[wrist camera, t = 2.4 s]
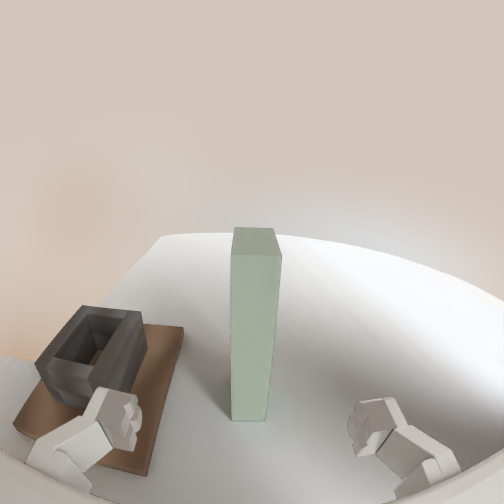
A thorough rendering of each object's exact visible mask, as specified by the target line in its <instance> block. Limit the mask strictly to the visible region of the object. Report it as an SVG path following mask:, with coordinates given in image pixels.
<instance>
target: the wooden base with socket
mask: <svg viewBox="0 0 504 504" xmlns="http://www.w3.org/2000/svg"><path fill="white" fill-rule="evenodd" d="M183 336H184V330H183V327H175V326H162V325H150V324H143V320H142V315H141V312H140V311H129V310H119V309H109V308H100V307H92V306H84V305H82V306H81V307H80V309H79V310H78V311H77V312H76V313H75V314H74V315H73V317H72V318H71V319H70V320H69V321H68V322H67V323H66V325H65V326H64V327H63V328H62V329H61V331H60V332H59V333H58V334H57V336H56V337H55V338H54V339H53V340H52V342H51V343H50V344H49V345H48V347H47V348H46V349H45V350H44V352H43V353H42V354H41V356H40V357H39V358H38V359H37V361H36V362H35V363H34V364H35V366H36V368H37V370H38V372H39V374H40V376H41V378H42V379H41V380H40V382H39V383H38V385H37V386H36V388H35V389H34V391H33V392H32V394H31V395H30V397H29V398H28V400H27V401H26V403H25V404H24V406H23V408H22V409H21V411H20V412H19V414H18V416H17V417H16V419H15V421H14V422H13V425H14V426H15V428H16V429H17V430H18V431H19V432H21V433H23V434H25V435H27V436H29V437H31V438H33V439H35V440H37V439H39V438H40V437H42V436H44V435H46V434H48V433H49V432H51V431H53V430H55V429H57V428H58V427H60V426H62V425H64V424H65V423H67V422H69V421H71V420H72V419H74V418H76V417H77V416H83V414H84V412H85V410H86V408H87V406H88V404H89V402H90V400H91V398H92V396H93V394H94V392H95V390H96V389H97V388H98V387H99V386H100V387H104V388H108V389H112V390H116V391H120V392H124V393H129V394H133V395H136V396H137V399H138V403H137V405H138V406H139V407H140V408H141V411H142V424H141V428H140V430H139V431H137V432H136V433H135V435H136V437H137V441H136V444H135V448H134V451H133V452H131V451H127V450H122V449H118V448H114V447H113V449H112V450H111V451H109V452H108V453H107V454H106V455H105V456H103V457H102V458H101V459H100V460H99V461H97V462H96V463H97V464H100V465H103V466H107V467H110V468H114V469H118V470H121V471H125V472H129V473H134V474H138V475H143V476H147V472H148V467H149V463H150V459H151V455H152V451H153V446H154V442H155V438H156V434H157V430H158V426H159V423H160V419H161V415H162V411H163V407H164V403H165V400H166V396H167V392H168V389H169V385H170V381H171V378H172V374H173V371H174V367H175V364H176V360H177V357H178V353H179V350H180V347H181V343H182V340H183Z"/></svg>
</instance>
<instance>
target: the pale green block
mask: <svg viewBox="0 0 504 504" xmlns="http://www.w3.org/2000/svg"><path fill="white" fill-rule="evenodd" d="M281 262H282V255H281V251H280V248H279V245H278V242H277V239H276V236H275V233H274V230H273V228H246V227H245V228H243V227H235V229H234V236H233V243H232V250H231V291H230V330H231V411H232V421H265V418H266V410H267V402H268V393H269V385H270V376H271V367H272V358H273V349H274V339H275V329H276V319H277V308H278V298H279V286H280V275H281Z"/></svg>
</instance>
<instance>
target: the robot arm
mask: <svg viewBox="0 0 504 504" xmlns="http://www.w3.org/2000/svg"><path fill="white" fill-rule="evenodd" d="M137 403H138V399H137V396H136V395H133V394H129V393H124V392H120V391H116V390H112V389H108V388H104V387H100V386H99V387H98V388H97V389H96V390H95V392H94V394H93V396H92V398H91V400H90V402H89V404H88V406H87V408H86V410H85V412H84V414H83V416H77V417H76V418H74V419H72V420H71V421H69V422H67V423H65V424H64V425H62V426H60V427H58V428H57V429H55V430H53V431H51V432H49V433H48V434H46V435H44V436H42V437H40V438H39V439H37V440H36V442H35V444H34V446H33V447H32V449H31V451H30V453H29V455H28V457H27V459H26V461H25V464H24V463H22V462H21V461H19V460H17V459H15V458H14V457H12V456H10V455H9V454H7V453H6V452H4V451H3V450H1V449H0V504H119V503H116V502H112V501H109V500H106V499H103V498H100V497H97V496H94V495H92V494H90V492H91V489H92V486H93V484H92V482H91V481H90V480H89V479H88V478H87V476H86V475H85V474H84V472H85V471H87V470H88V469H89V468H90V467H91V466H93V465H94V464H95V463H96V462H97V461H99V460H100V459H101V458H102V457H103V456H105V455H106V454H107V453H108V452H109V451H111V450H112V449H113V447H114V448H118V449H122V450H127V451H131V452H133V451H134V448H135V444H136V441H137V437H136V435H135V433H136V432H137V431H139V430H140V428H141V424H142V411H141V408H140V407H139V406H138V405H137ZM354 409H355V412H353V413H352V414H350V417H349V419H348V432H349V436H351V437H352V438H353V439H355V440H354V442H353V444H352V445H353V449H354V452H355V455H356V457H361V456H367V455H372V454H375V455H376V456H377V457H378V458H379V459H380V460H381V461H382V462H384V463H385V464H386V465H387V466H388V467H389V468H390V469H391V470H392V471H394V472H395V473H396V474H397V475H398V476H399V477H400V478H401V479H403V480H404V481H402V482H401V483H400V484H399V485H398V486H397V487H396V488H395V490H394V491H395V494H396V498H397V499H396V500H393V501H390V502H387V503H383V504H504V448H503V449H502V450H500V451H498V452H497V453H495V454H494V455H492V456H490V457H489V458H487V459H485V460H484V461H482V462H480V463H479V464H477V465H475V466H473V467H471V468H469V469H468V470H466V471H464V472H462V470H461V468H460V466H459V464H458V462H457V460H456V458H455V456H454V454H453V452H452V450H451V449H449V448H448V447H446V446H444V445H443V444H441V443H439V442H438V441H436V440H435V439H433V438H431V437H430V436H428V435H427V434H425V433H423V432H422V431H420V430H419V429H417V428H416V427H414V426H412V425H408V424H407V422H406V420H405V418H404V416H403V414H402V412H401V410H400V408H399V406H398V404H397V402H396V400H395V398H394V397H393V396H392V397H386V398H378V399H372V400H365V401H358V402H357V403H356V404H355V406H354Z"/></svg>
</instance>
